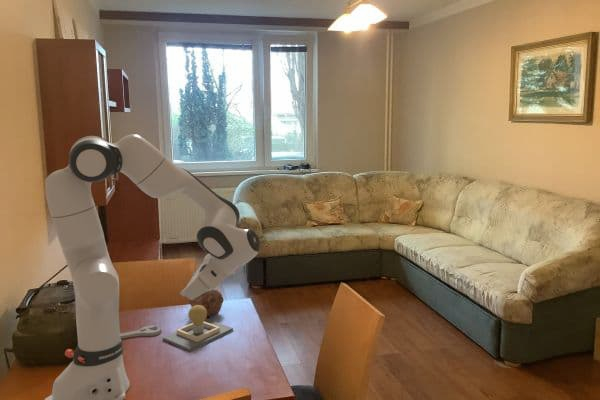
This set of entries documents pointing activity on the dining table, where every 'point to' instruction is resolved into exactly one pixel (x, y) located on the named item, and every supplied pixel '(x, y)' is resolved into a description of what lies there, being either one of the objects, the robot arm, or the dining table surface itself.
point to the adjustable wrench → (142, 332)
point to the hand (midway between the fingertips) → (188, 284)
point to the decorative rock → (209, 302)
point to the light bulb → (197, 318)
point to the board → (197, 335)
